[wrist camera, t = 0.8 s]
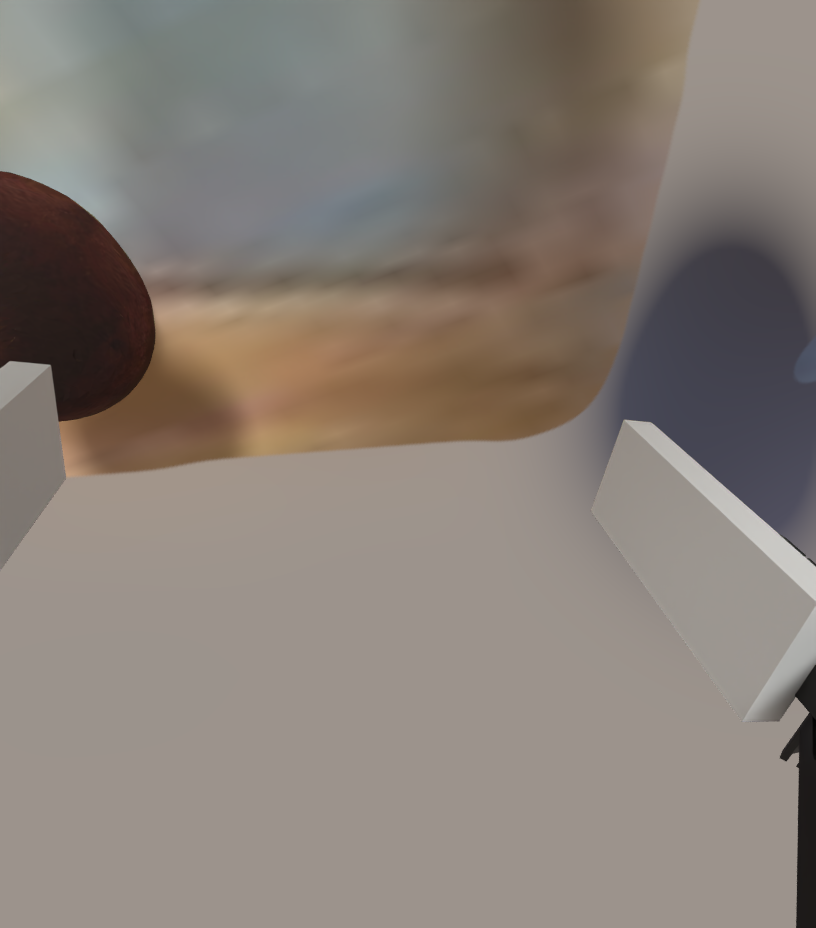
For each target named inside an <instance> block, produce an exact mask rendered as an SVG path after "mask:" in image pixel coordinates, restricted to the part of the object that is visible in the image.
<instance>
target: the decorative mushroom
mask: <svg viewBox="0 0 816 928" xmlns="http://www.w3.org/2000/svg"><path fill="white" fill-rule="evenodd" d="M154 344H155V322H154V315H153V309H152V304H151V300H150V297H149V294H148V292H147V289H146V287H145V285H144V283H143V280H142V278H141V277H140V275H139V273H138V271H137V269H136V268H135V266H134V265H133V263H132V262H131V260H130V259H129V257H128V256H127V254H126V253H125V251H124V250H123V249H122V248H121V247H120V245H119V244H118V243H117V241H116V240H115V239H114V238H113V237H112V235H111V234H110V233H109V232H108V231H107V230H106V229H105V227H104V226H103V225H102V224H101V223H100V222H99V221H98V220H97V219H96V218H95V217H94V216H93V215H91V214H90V213H89V212H88V211H86V210H85V209H84V208H83V207H81V206H80V205H79V204H77V203H76V202H75V201H73V200H72V199H70V198H69V197H67V196H66V195H64V194H62V193H60V192H58V191H56V190H54V189H52V188H50V187H48V186H46V185H44V184H42V183H39V182H36V181H34V180H32V179H29V178H26V177H23V176H20V175H16V174H13V173H9V172H2V171H0V368H2V367H3V366H4V365H6V364H7V363H8V362H9V361H15V362H25V363H35V364H46V365H51V370H52V377H53V384H54V392H55V399H56V407H57V414H58V422H59V421H68V420H74V419H79V418H84V417H88V416H91V415H94V414H97V413H99V412H101V411H104V410H106V409H108V408H110V407H111V406H113V405H115V404H116V403H118V402H119V401H121V400H122V399H123V398H125V397H126V396H127V395H128V394H129V393H130V392H131V391H132V390H133V389H134V388H135V387H136V386H137V384H138V383H139V382H140V380H141V379H142V377H143V376H144V374H145V372H146V370H147V368H148V366H149V364H150V361H151V357H152V353H153V350H154Z"/></svg>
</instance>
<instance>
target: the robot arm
mask: <svg viewBox="0 0 816 928" xmlns="http://www.w3.org/2000/svg"><path fill="white" fill-rule="evenodd" d="M65 480H66V474H65V466H64V459H63V451H62V444H61V436H60V429H59V422H58V414H57V407H56V399H55V392H54V384H53V377H52V370H51V365H46V364H35V363H25V362H15V361H9V362H8V363H7V364H6V365H4V366H3V367H2V368H0V570H1V569H2V568H3V566H4V565H5V563H6V562H7V561H8V559H9V558H10V556H11V555H12V554H13V552H14V551H15V549H16V548H17V547H18V545H19V544H20V542H21V541H22V540H23V538H24V537H25V535H26V534H27V533H28V531H29V530H30V528H31V527H32V526H33V524H34V523H35V521H36V520H37V519H38V517H39V516H40V515H41V513H42V512H43V510H44V509H45V508H46V506H47V505H48V503H49V502H50V500H51V499H52V498H53V496H54V495H55V494H56V492H57V491H58V489H59V488H60V487H61V485H62V484H63V482H64V481H65ZM591 512H592V514H593V515H594V516H595V518H596V519H597V521H598V522H599V523H600V525H601V526H602V528H603V529H604V530H605V532H606V533H607V534H608V536H609V537H610V539H611V540H612V542H613V543H614V544H615V546H616V547H617V549H618V550H619V551H620V553H621V554H622V556H623V557H624V558H625V560H626V561H627V562H628V564H629V565H630V566H631V568H632V569H633V571H634V572H635V574H636V575H637V576H638V578H639V579H640V581H641V582H642V583H643V585H644V586H645V588H646V589H647V590H648V592H649V593H650V594H651V596H652V597H653V599H654V600H655V602H656V603H657V604H658V606H659V607H660V608H661V609H662V611H663V613H664V614H665V616H666V617H667V618H668V620H669V621H670V622H671V624H672V625H673V627H674V628H675V629H676V631H677V632H678V634H679V635H680V636H681V638H682V639H683V641H684V642H685V643H686V645H687V646H688V648H689V649H690V650H691V652H692V653H693V654H694V656H695V657H696V659H697V660H698V662H699V663H700V664H701V666H702V667H703V669H704V670H705V671H706V673H707V674H708V676H709V677H710V678H711V680H712V681H713V682H714V684H715V685H716V686H717V688H718V689H719V691H720V692H721V694H722V695H723V696H724V698H725V699H726V701H727V702H728V703H729V705H730V706H731V708H732V709H733V710H734V712H735V713H736V715H737V716H738V717H739V719H740V720H741V721H742V722H764V721H766V722H768V721H780V719H781V718H782V716H783V715H784V713H785V712H786V710H787V709H788V707H789V706H790V704H791V703H792V702H793V700H794V699H795V697H797V698H798V700H799V701H800V702H801V703H802V704H803V705H804V707H805V708H806V709H807V710H808V711H809V714H808V716H807V717H806V718H805V720H804V721H803V722H802V724H801V725H800V727H799V728H798V730H797V731H796V732H795V734H794V735H793V737H792V738H791V739H790V741H789V742H788V744H787V745H786V747H785V748H784V749H783V751H782V753H781V756H780V758H781V759H783V760H785V761H787V760H788V759H789V757H790V756H791V755H792V754H793V753H798V752H799V763H798V764H797V766H796V767H798V768H799V796H798V857H797V858H798V859H797V917H796V918H797V919H796V928H816V564H815V563H814V562H813V561H812V560H811V559H809V558H806V557H805V556H806V555H805V554H804V553H803V552H801V551H800V550H799V549H798V548H797V547H795V546H794V545H793V544H792V543H791V542H790V541H789V540H788V539H786V538H785V537H783V536H782V535H780V534H778V533H777V532H776V531H774V530H773V529H772V528H771V527H770V526H769V525H768V524H767V523H765V522H764V521H763V520H762V519H761V518H760V517H759V516H757V515H756V514H755V513H754V512H753V511H752V510H751V509H749V508H748V507H747V506H746V505H745V504H743V503H742V502H741V501H740V500H739V499H738V498H737V497H735V495H734V494H732V493H731V492H730V491H729V490H728V489H727V488H726V487H724V486H723V485H722V484H721V483H720V482H719V481H717V480H716V479H715V478H714V477H713V476H712V475H711V474H709V473H708V472H707V471H706V470H705V469H704V468H703V467H702V466H700V465H699V464H698V463H697V462H696V461H695V460H694V459H692V458H691V457H690V456H689V455H688V454H687V453H685V451H683V450H682V449H681V448H680V447H679V446H678V445H676V444H675V443H674V442H673V441H672V440H671V439H670V438H669V437H667V436H666V435H665V434H664V433H663V432H662V431H661V430H659V429H658V428H657V427H656V426H655V425H654V424H652V423H651V422H641V421H631V420H624V421H623V423H622V426H621V429H620V432H619V434H618V437H617V440H616V443H615V445H614V449H613V451H612V454H611V457H610V459H609V462H608V465H607V467H606V470H605V473H604V476H603V479H602V481H601V484H600V487H599V490H598V492H597V495H596V498H595V501H594V503H593V506H592V509H591Z"/></svg>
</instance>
